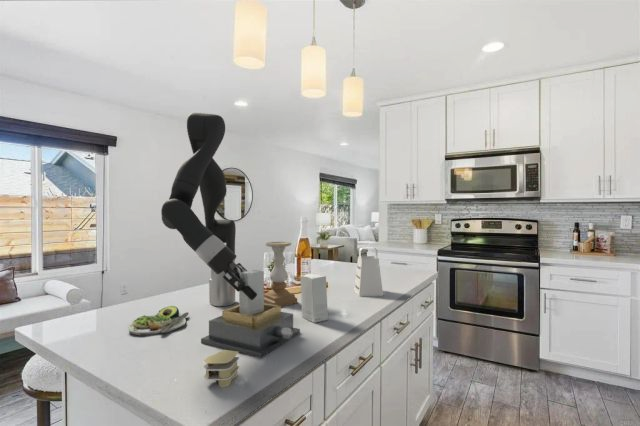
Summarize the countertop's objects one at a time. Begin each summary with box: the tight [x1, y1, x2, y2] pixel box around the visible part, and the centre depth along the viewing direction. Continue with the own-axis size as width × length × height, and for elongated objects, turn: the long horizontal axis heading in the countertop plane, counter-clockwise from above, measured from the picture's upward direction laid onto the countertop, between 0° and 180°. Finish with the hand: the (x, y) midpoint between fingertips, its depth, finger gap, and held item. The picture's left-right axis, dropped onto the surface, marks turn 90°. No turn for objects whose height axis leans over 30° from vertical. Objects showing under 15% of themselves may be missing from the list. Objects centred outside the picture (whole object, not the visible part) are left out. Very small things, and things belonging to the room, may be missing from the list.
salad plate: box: [128, 305, 190, 337], centre depth 108 cm, size 19×18×5 cm
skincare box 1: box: [238, 269, 265, 315], centre depth 98 cm, size 6×4×12 cm
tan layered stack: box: [203, 349, 240, 388], centre depth 74 cm, size 10×9×6 cm
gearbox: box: [200, 303, 301, 359], centre depth 97 cm, size 24×19×8 cm
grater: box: [353, 246, 384, 297], centre depth 149 cm, size 10×10×20 cm
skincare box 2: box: [299, 273, 329, 324], centre depth 115 cm, size 8×6×15 cm
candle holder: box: [264, 241, 298, 307], centre depth 135 cm, size 11×11×24 cm
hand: (256, 294), depth 98 cm, fingers closed on skincare box 1, 7 cm apart
